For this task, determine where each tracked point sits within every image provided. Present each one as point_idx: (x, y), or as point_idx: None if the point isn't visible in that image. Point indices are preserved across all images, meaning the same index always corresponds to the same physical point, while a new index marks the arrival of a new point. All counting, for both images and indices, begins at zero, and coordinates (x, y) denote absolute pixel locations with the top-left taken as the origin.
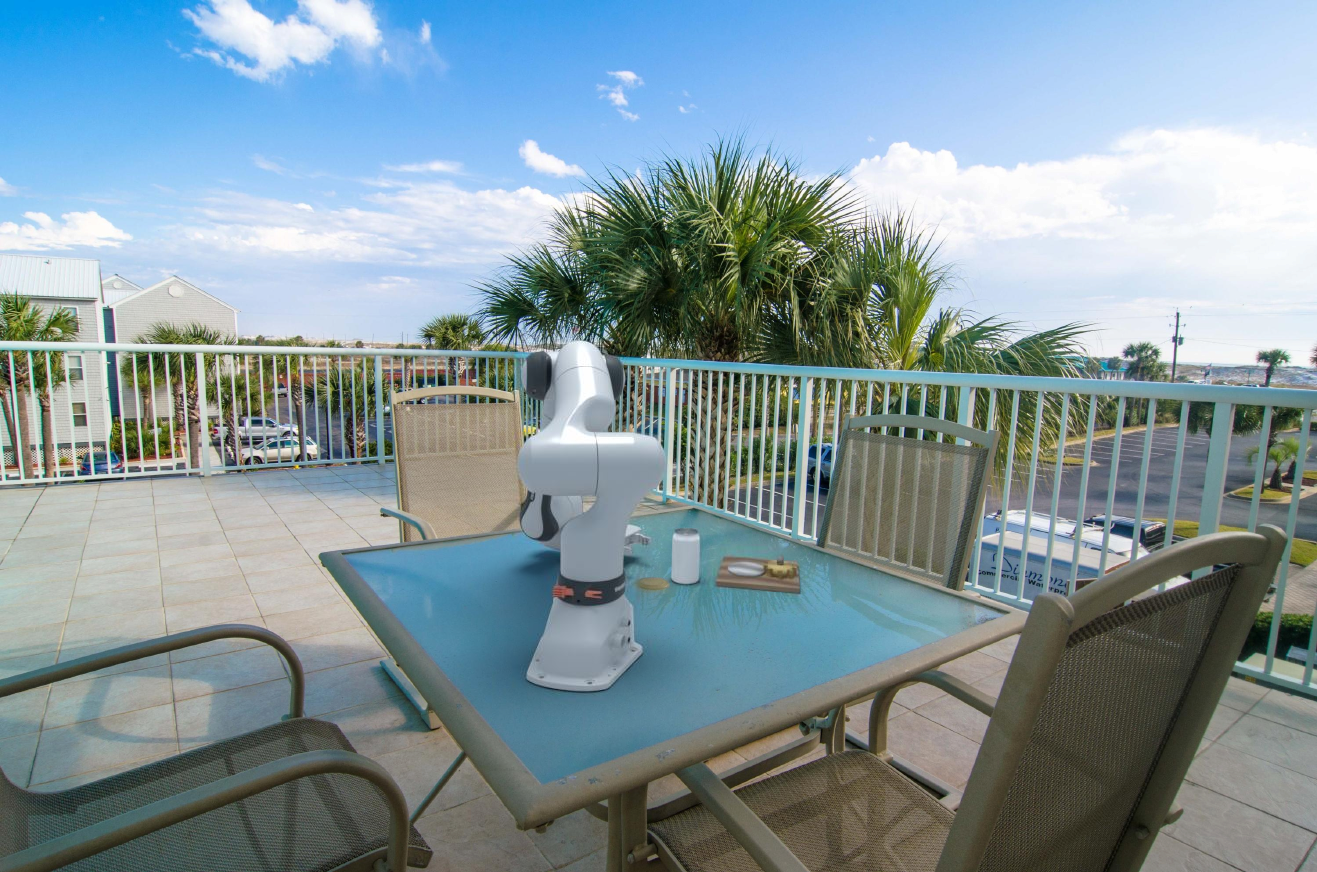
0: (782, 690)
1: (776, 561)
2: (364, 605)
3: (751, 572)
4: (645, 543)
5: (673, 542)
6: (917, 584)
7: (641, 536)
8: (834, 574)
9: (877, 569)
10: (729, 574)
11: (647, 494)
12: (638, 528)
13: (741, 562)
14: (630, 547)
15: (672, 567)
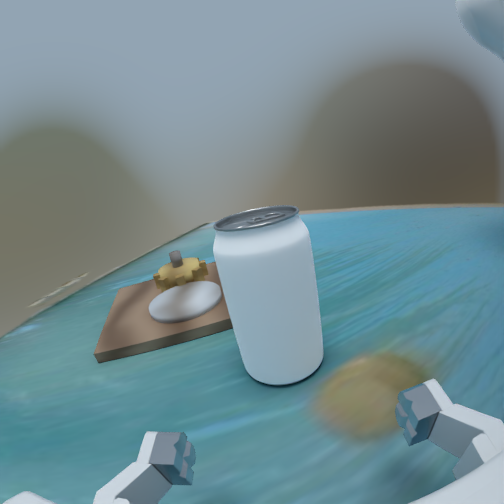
0: (437, 209)
1: (164, 271)
2: None
3: (207, 286)
4: (188, 462)
5: (303, 256)
6: (162, 246)
7: (137, 481)
8: (148, 272)
9: (124, 265)
10: (219, 308)
11: (493, 53)
12: (31, 501)
13: (152, 311)
14: (422, 384)
15: (313, 338)
